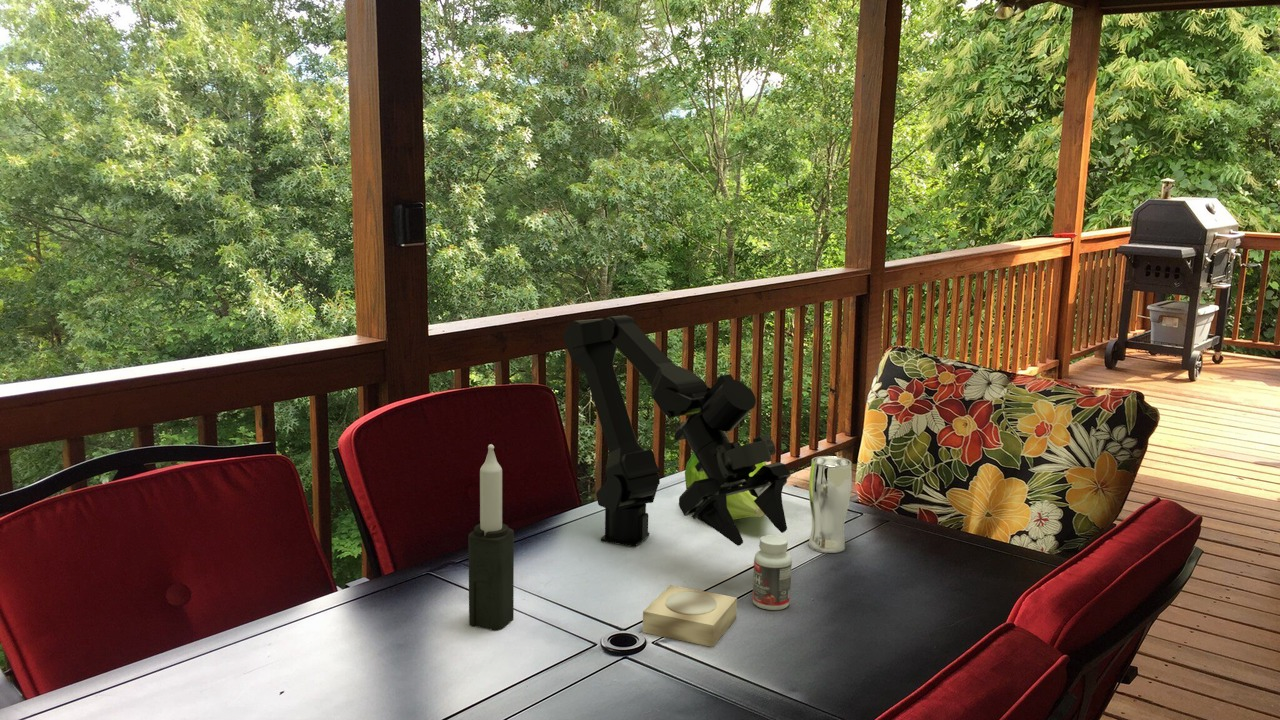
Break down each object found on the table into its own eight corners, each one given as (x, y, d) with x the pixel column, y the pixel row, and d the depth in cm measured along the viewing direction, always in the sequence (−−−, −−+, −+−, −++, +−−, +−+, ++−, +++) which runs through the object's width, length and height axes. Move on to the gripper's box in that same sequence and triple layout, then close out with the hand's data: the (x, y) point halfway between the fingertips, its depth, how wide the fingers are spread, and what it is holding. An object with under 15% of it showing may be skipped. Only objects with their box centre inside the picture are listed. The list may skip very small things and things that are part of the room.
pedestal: (642, 632, 134) (643, 609, 134) (669, 604, 144) (670, 583, 143) (712, 646, 131) (713, 623, 130) (736, 617, 140) (737, 595, 139)
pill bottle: (744, 603, 144) (747, 539, 143) (765, 593, 149) (768, 530, 147) (776, 614, 141) (779, 548, 139) (796, 603, 145) (799, 539, 143)
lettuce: (799, 543, 177) (720, 562, 172) (745, 481, 196) (673, 497, 192) (802, 471, 171) (721, 489, 166) (746, 415, 190) (671, 430, 186)
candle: (516, 616, 138) (516, 441, 134) (499, 631, 134) (499, 450, 129) (483, 611, 140) (482, 438, 136) (465, 625, 135) (464, 446, 131)
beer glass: (845, 540, 172) (850, 456, 169) (849, 555, 165) (855, 467, 162) (804, 538, 172) (809, 454, 170) (807, 553, 165) (811, 465, 163)
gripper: (694, 427, 140) (747, 522, 134) (784, 410, 152) (837, 498, 145) (656, 469, 147) (705, 561, 141) (745, 450, 159) (794, 535, 153)
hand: (763, 537), depth 145 cm, fingers open, 9 cm apart
